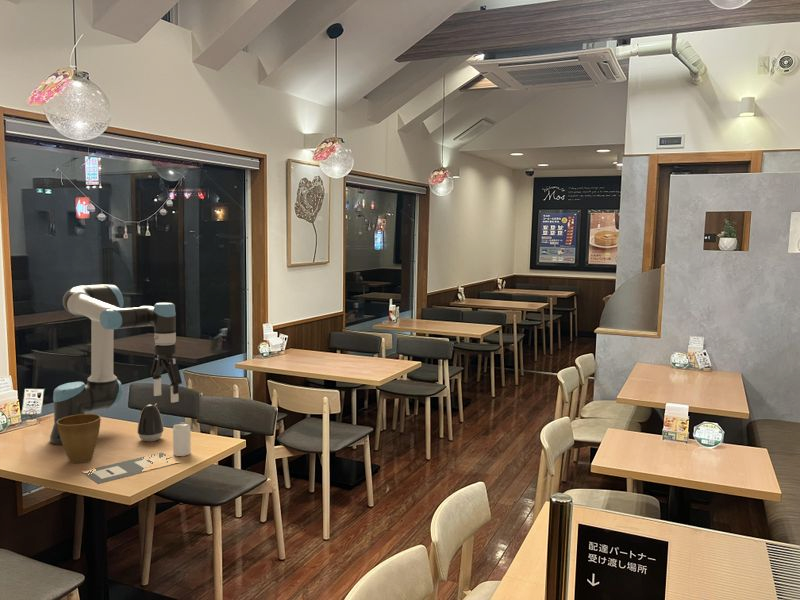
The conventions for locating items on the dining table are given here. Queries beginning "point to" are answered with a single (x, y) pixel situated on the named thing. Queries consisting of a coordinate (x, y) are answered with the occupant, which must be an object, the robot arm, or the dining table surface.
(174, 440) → the can
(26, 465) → the dining table surface
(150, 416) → the pump dispenser
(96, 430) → the plant pot
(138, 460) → the label panel
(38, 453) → the dining table surface
